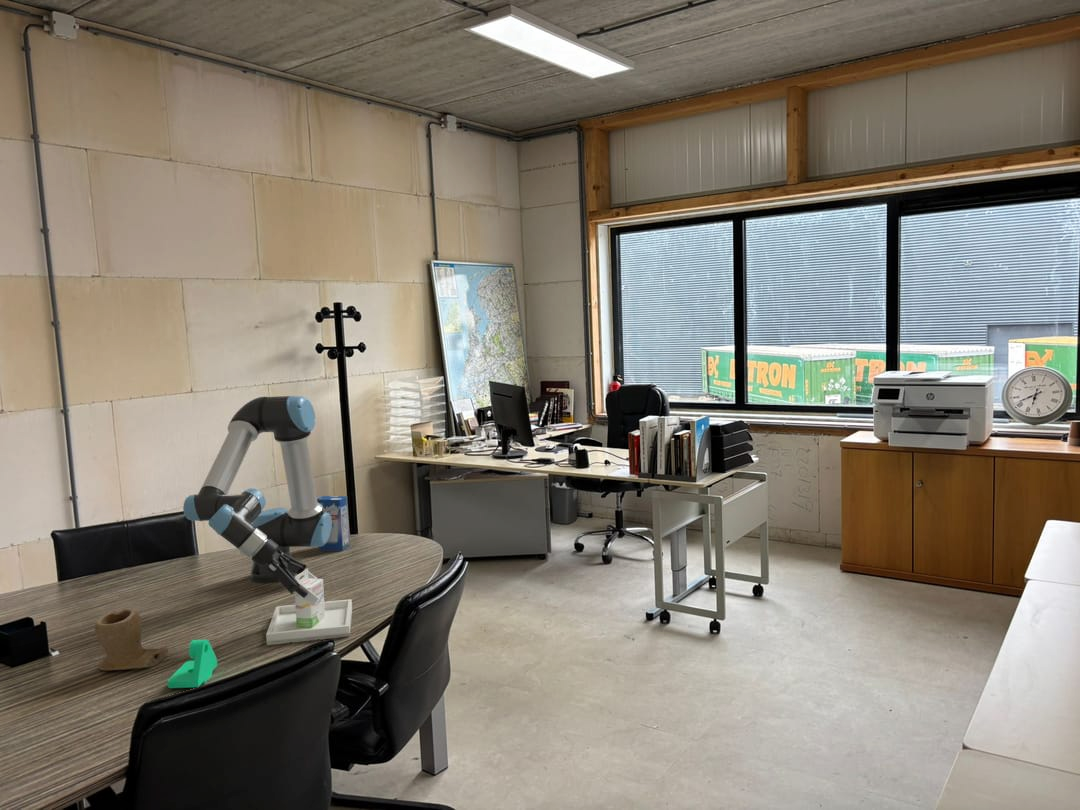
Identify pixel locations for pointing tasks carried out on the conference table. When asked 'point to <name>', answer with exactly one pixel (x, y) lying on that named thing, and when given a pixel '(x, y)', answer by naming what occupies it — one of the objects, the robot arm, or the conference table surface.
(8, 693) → the conference table surface
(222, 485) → the robot arm
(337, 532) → the milk carton
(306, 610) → the ink box
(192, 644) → the camera mount
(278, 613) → the tray
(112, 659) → the stone cup
